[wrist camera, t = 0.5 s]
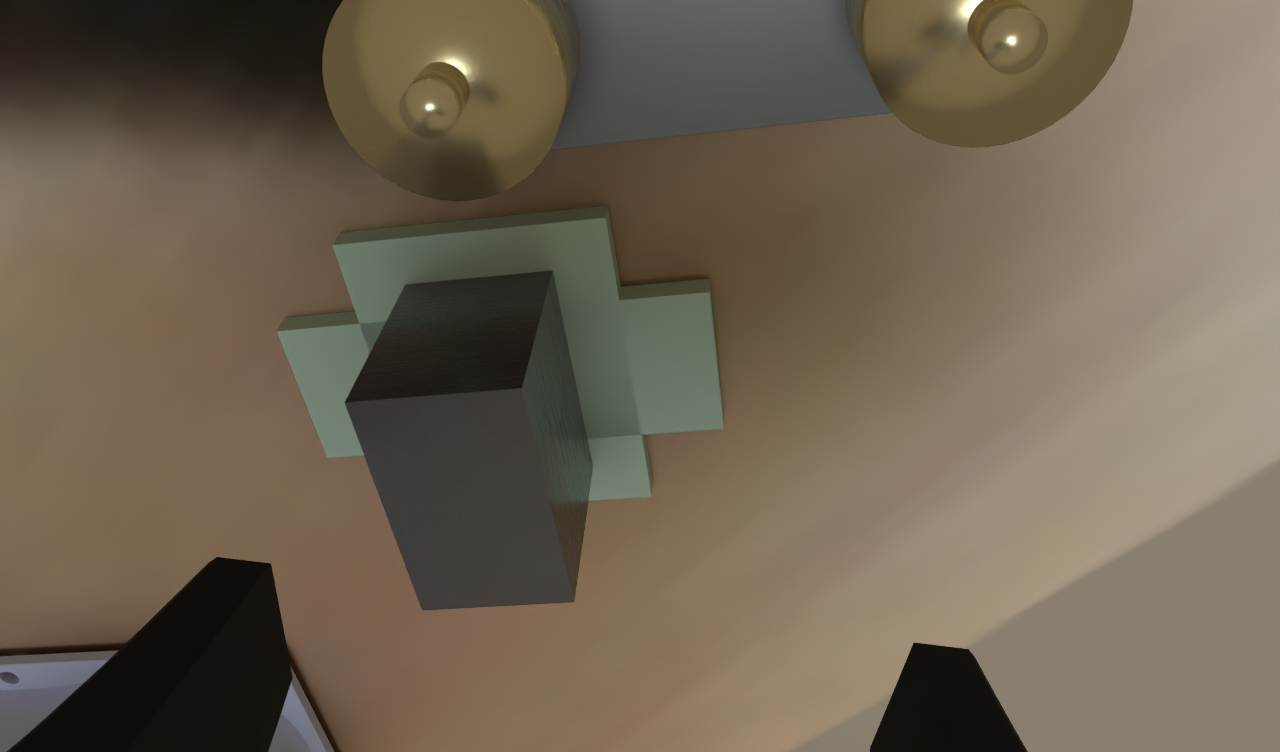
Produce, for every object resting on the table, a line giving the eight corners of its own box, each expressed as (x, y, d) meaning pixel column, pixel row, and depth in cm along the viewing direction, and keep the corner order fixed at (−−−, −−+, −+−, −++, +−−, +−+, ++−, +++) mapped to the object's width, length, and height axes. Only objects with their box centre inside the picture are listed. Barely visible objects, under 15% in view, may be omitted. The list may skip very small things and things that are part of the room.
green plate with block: (360, 494, 24) (292, 651, 20) (260, 236, 20) (150, 367, 16) (729, 469, 23) (736, 629, 19) (700, 191, 19) (701, 319, 15)
